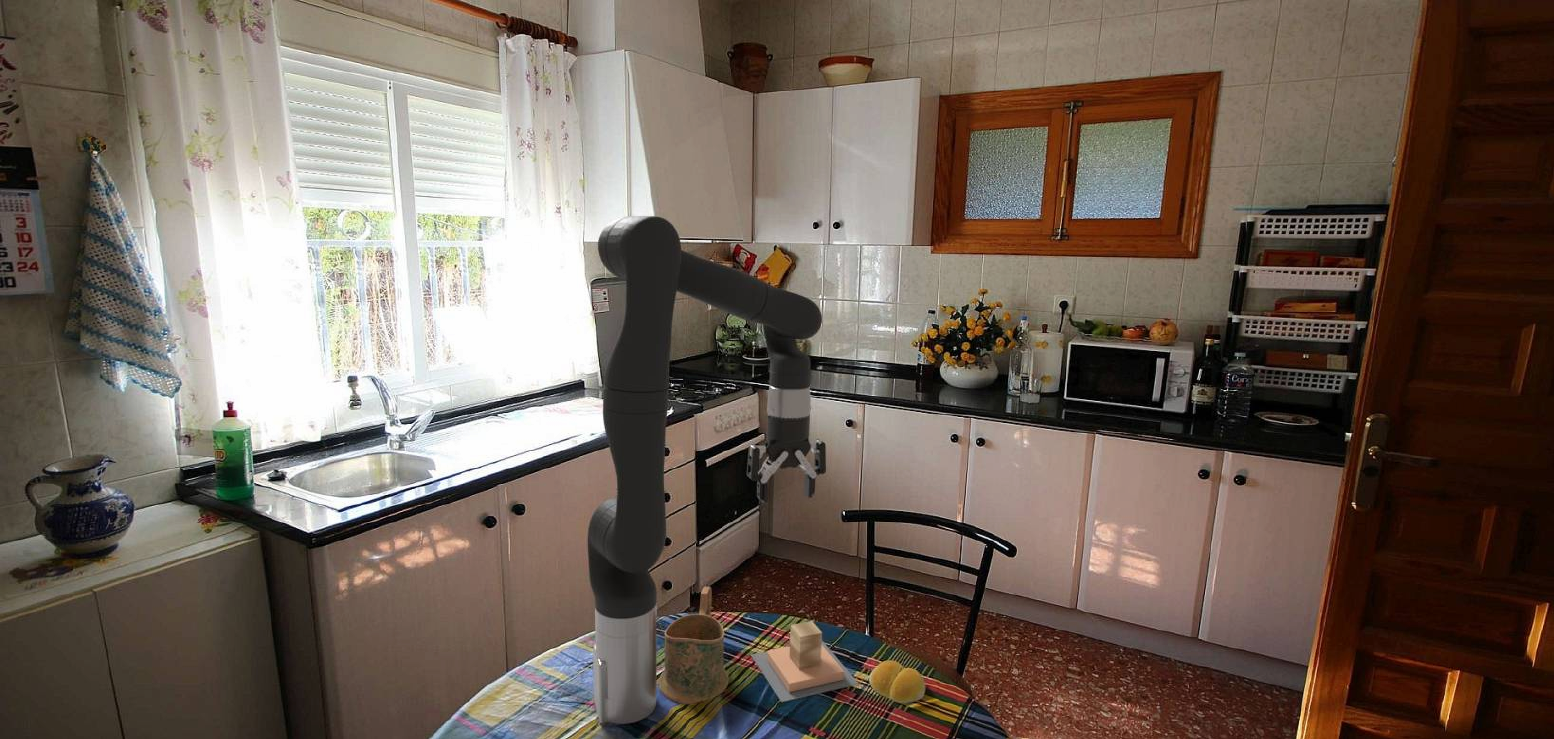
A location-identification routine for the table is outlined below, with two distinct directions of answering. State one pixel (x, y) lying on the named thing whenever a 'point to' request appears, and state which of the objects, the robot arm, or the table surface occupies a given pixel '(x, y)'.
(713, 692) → the mug
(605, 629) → the robot arm
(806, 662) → the block
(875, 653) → the table surface
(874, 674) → the bread roll
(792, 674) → the tile
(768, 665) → the mat
